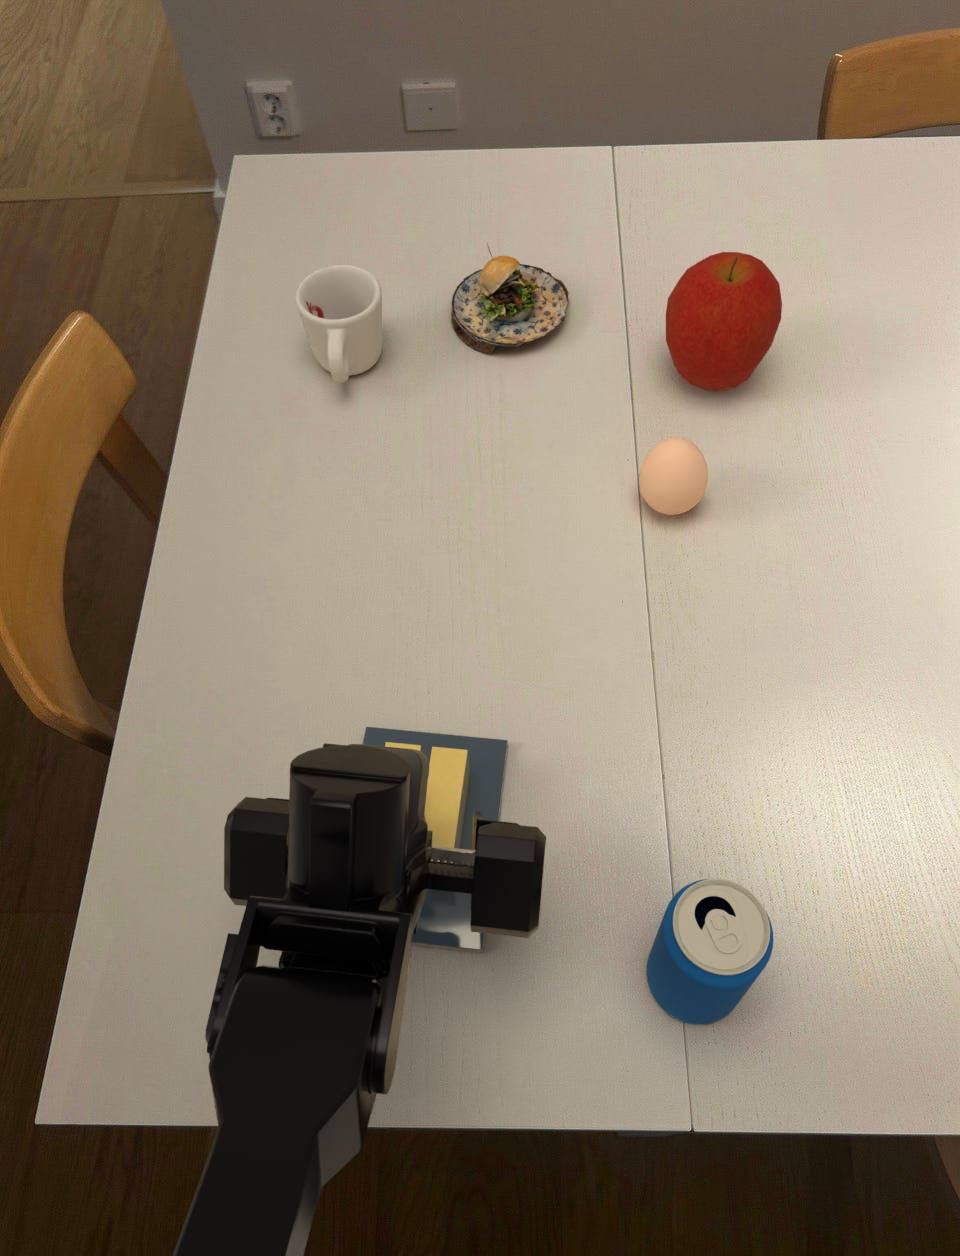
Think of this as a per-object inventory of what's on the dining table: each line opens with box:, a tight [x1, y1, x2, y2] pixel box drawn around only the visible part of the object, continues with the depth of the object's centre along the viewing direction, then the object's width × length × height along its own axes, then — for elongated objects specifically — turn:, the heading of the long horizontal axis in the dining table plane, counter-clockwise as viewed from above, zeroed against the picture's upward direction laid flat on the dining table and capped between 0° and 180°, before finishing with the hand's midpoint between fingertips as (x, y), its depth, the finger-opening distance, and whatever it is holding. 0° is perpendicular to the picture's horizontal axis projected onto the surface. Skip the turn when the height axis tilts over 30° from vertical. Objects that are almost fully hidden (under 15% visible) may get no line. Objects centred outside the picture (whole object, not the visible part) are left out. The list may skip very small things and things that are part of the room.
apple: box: [665, 251, 783, 392], centre depth 96 cm, size 10×10×14 cm
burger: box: [450, 243, 570, 355], centre depth 104 cm, size 12×12×8 cm
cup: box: [295, 264, 383, 383], centre depth 100 cm, size 11×8×8 cm
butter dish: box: [362, 726, 509, 954], centre depth 76 cm, size 16×11×5 cm
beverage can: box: [646, 878, 774, 1025], centre depth 67 cm, size 6×6×12 cm
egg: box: [638, 436, 709, 516], centre depth 90 cm, size 6×6×8 cm
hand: (409, 811), depth 71 cm, fingers open, 9 cm apart
